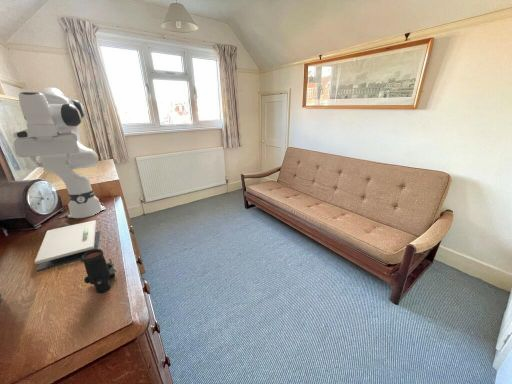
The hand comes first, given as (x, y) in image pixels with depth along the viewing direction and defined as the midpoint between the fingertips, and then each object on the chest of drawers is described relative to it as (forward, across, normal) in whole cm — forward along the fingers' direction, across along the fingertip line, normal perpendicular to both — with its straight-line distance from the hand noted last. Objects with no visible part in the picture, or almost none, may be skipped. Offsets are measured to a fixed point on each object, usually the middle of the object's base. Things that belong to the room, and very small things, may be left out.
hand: (54, 165), depth 93 cm
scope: (+41, -12, +44) cm, 61 cm away
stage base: (+37, +1, +9) cm, 38 cm away
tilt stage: (+32, +1, +10) cm, 33 cm away
